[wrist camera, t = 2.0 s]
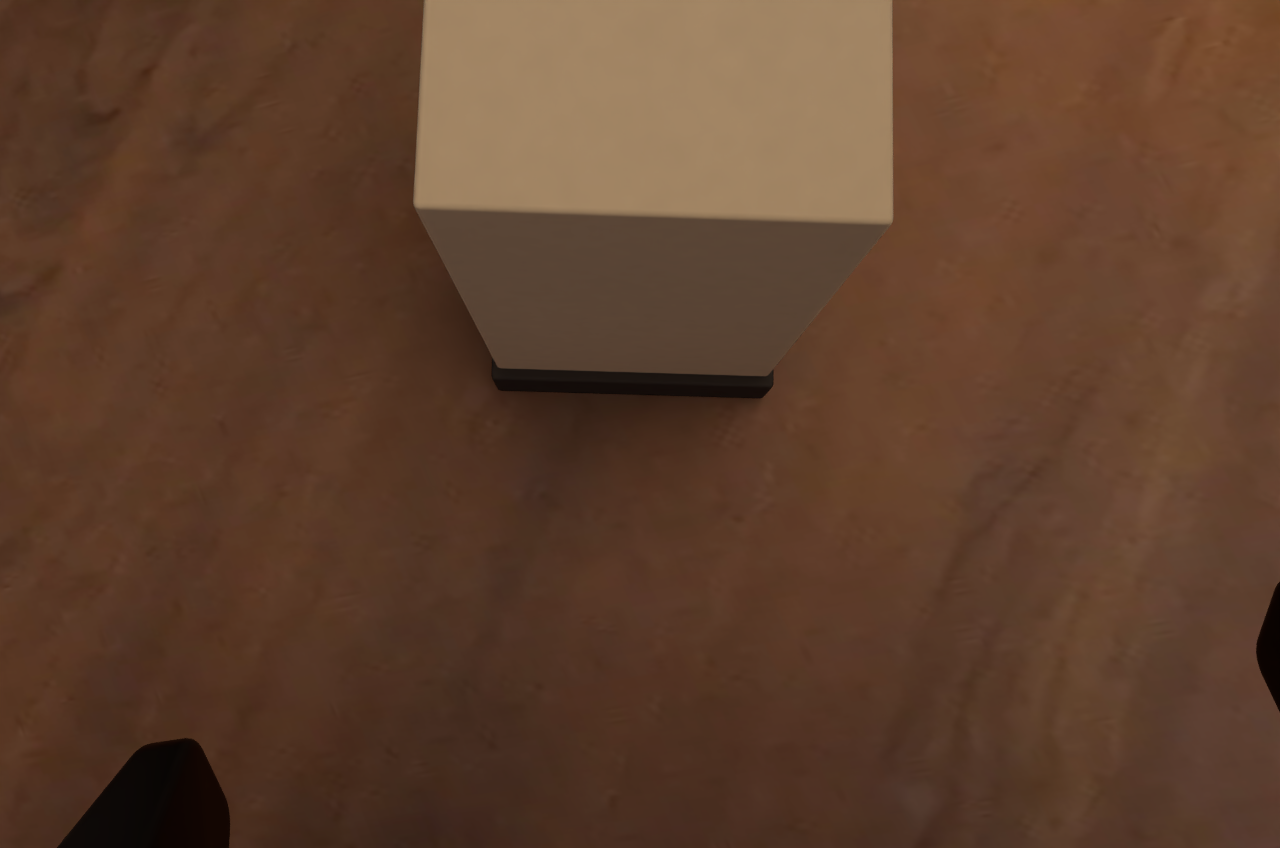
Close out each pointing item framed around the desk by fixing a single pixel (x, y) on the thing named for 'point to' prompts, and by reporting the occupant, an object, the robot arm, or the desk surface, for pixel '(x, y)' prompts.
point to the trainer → (652, 181)
